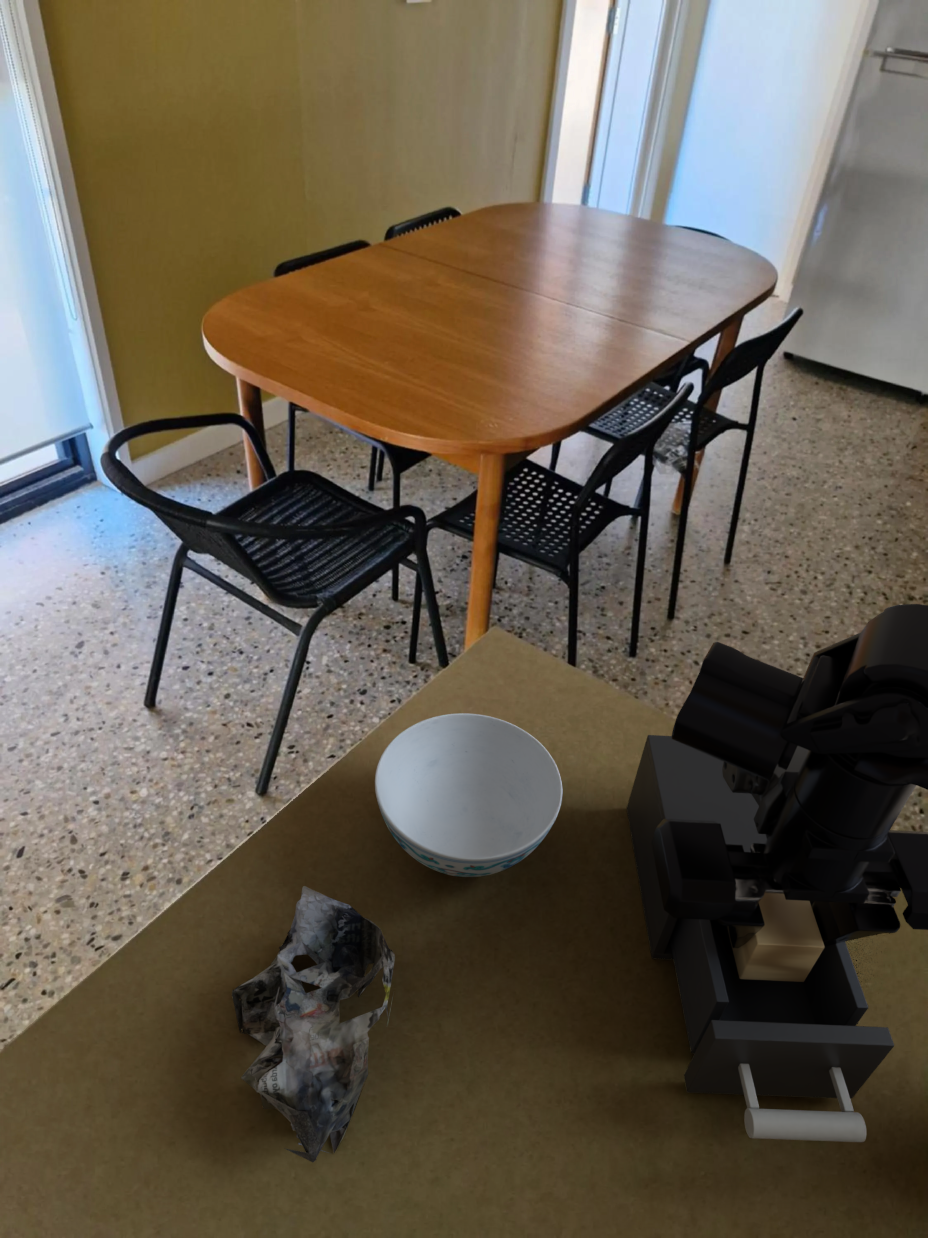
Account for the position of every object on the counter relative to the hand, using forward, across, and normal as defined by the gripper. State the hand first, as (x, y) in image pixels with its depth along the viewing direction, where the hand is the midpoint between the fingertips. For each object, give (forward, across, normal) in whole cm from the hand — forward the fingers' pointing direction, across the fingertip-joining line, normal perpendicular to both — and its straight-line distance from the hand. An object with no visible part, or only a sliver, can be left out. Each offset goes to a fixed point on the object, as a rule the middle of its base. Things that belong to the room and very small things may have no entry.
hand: (767, 943), depth 62 cm
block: (+1, 0, 0) cm, 1 cm away
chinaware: (+8, +21, -13) cm, 26 cm away
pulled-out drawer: (+6, 0, +3) cm, 7 cm away
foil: (+8, +31, +4) cm, 32 cm away
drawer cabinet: (+7, 0, -10) cm, 12 cm away
